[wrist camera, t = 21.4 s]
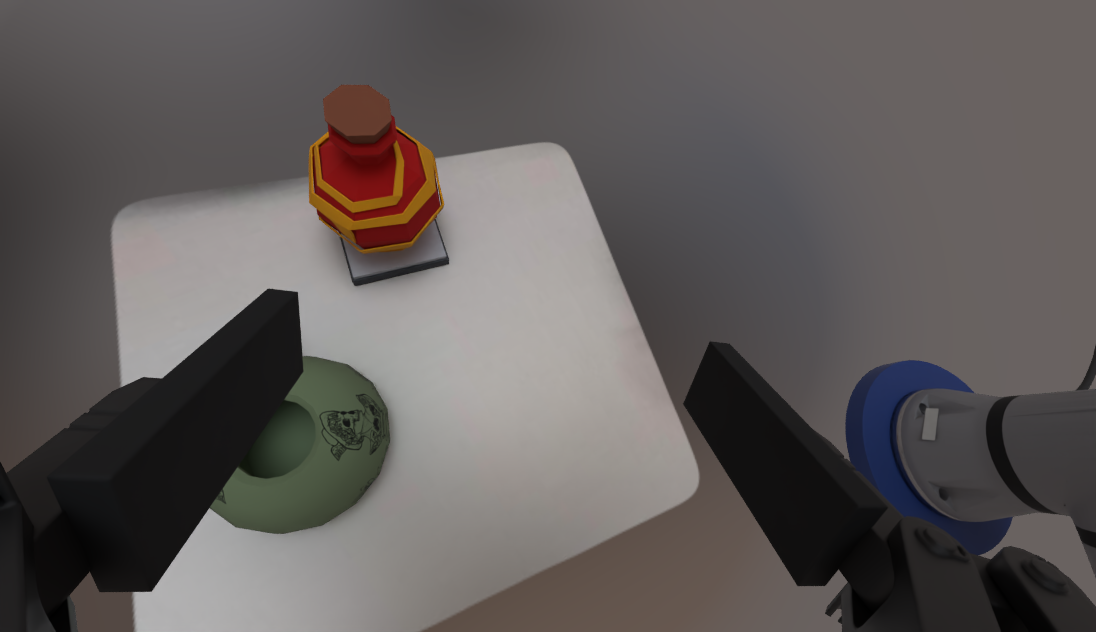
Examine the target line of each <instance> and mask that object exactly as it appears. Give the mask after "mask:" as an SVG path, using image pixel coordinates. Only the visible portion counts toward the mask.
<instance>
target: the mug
mask: <svg viewBox="0 0 1096 632" xmlns="http://www.w3.org/2000/svg"><path fill="white" fill-rule="evenodd" d="M303 370H304V372H303V373H302V374H301V376H300V377H299V379H298V380H297V382H296V383H295V385H294V386H293V388H292V389H291V390H290V392H289V393H288V395H287V396H286V398H285V399H284V401H283V402H282V403H281V405H280V406H279V408H278V409H277V411H276V412H275V414H274V415H273V417H272V418H271V419H270V421H269V422H268V424H267V425H266V427H265V428H264V430H263V431H262V432H261V434H260V435H259V437H258V438H257V440H256V441H255V443H254V444H253V445H252V447H251V448H250V450H249V451H248V453H247V454H246V456H245V457H244V459H243V460H242V461H241V463H240V464H239V466H238V467H237V469H236V470H235V472H234V473H233V474H232V476H231V477H230V479H229V480H228V482H227V483H226V485H225V486H224V488H223V489H222V490H221V492H220V493H219V495H218V496H217V498H216V499H215V501H214V502H213V503H212V505H211V506H210V509H212V510H213V511H214V512H216V513H217V514H218V515H220V516H221V517H222V518H224V519H225V520H227V521H228V522H229V523H231V524H232V525H233V526H235V527H238V528H244V529H250V530H255V531H261V532H267V533H273V534H285V533H289V532H294V531H299V530H303V529H308V528H312V527H317V526H321V525H324V524H325V523H327V522H328V521H330V520H331V519H333V518H334V517H336V516H338V515H339V514H341V513H342V512H344V511H345V510H347V509H349V508H350V507H352V506H353V505H355V504H356V503H357V502H358V500H359V499H360V498H361V497H362V495H363V494H364V493H365V492H366V490H367V489H368V488H369V486H370V485H371V484H372V483H373V481H374V480H375V479H376V478H377V476H378V475H379V473H380V470H381V467H382V464H383V461H384V458H385V455H386V451H387V448H388V445H389V442H390V437H389V424H388V411H387V408H386V406H385V404H384V402H383V401H382V399H381V397H380V395H379V393H378V392H377V390H376V388H375V386H374V385H373V383H372V382H371V381H369V380H368V379H367V378H365V377H364V376H363V375H361V374H360V373H359V372H357V371H356V370H355V369H353V368H352V367H350V366H349V365H347V364H343V363H339V362H335V361H330V360H326V359H322V358H318V357H310V356H304V357H303Z"/></svg>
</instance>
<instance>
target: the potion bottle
mask: <svg viewBox="0 0 1096 632" xmlns="http://www.w3.org/2000/svg"><path fill="white" fill-rule="evenodd" d="M323 104H324V115H325V121H326V122H327V123H328V132H327V133H326V134H325V135H324V136H322V137H321V138H320V139H319V140H318V141H317V142H315V143H314V144H313V145H312V146H310V152H309V203H310V204H311V205H313V206H314V207H315V208H316V209H317V214H318V215H319V220H321V221H322V222H323V223H324V224H325V225H327V226H328V227H329V228H330V229H332V230H333V231H334V232H335V233H337V234H338V235H339V236H340V237H342V238H343V239H344V240H346V241H347V242H348V243H349V244H351V245H352V246H353V247H354V248H356V249H357V250H358V251H360V252H361V253H363V254H367V253H374V252H390V251H402V250H404V249H405V248H409V247H412V246H413V244H414V243H415V242H416V241H417V239H418V238H419V237H420V236H421V234H422V233H423V232H424V231H425V230H426V228H427V227H428V226H429V225H430V224H431V223H432V222H433V221H434V219H435V218H436V217H437V215H438V214H439V212H440V211H441V210H442V209H443V206H444V201H443V197H442V193H441V188H440V184H439V180H438V174H437V168H436V162H435V158H434V156H433V153H432V152H431V151H430V150H429V149H427V148H426V147H425V146H423V145H422V144H421V143H419V142H418V141H417V140H415V139H414V138H413V137H411V136H410V135H408V134H407V133H405V132H404V131H402V130H401V129H399V128H398V127H396V126H395V119H394V117H393V116H392V115H391V112H390V104H389V99H387V98H386V97H384V96H383V95H382V94H380V93H379V92H377V91H376V90H374V89H373V88H372V87H370V86H369V85H341V86H339V87H338V88H337V89H335V90H334V91H333V92H332V93H330V94H329V95H328V96H326V97H325V98H324V99H323ZM435 174H436V176H435ZM313 178H314V187H313ZM436 178H437V183H438V189H439V195H440V201H439V195H438V189H437V183H436ZM314 191H315V193H314ZM440 202H441V206H440ZM332 227H333V228H334V229H336V230H337V231H338V232H340V233H341V234H343V235H344V236H346V237H347V238H349V239H350V240H351V241H352V242H354V243H356V244H357V245H359V246H360V247H361V248H363V249H364V250H360V249H359V248H358V247H356V246H355V245H354V244H352V243H351V242H350V241H349V240H347V239H346V238H345V237H343V236H342V235H341V234H339V233H338V232H337V231H336V230H334V229H333V228H332Z"/></svg>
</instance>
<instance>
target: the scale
mask: <svg viewBox="0 0 1096 632" xmlns="http://www.w3.org/2000/svg"><path fill="white" fill-rule="evenodd" d="M339 234H341V233H340V232H339ZM341 235H342V236H343V237H345V238H346V239H347V240H349V241H350V242H351V243H352V244H354V245H355V246H356V247H358V248H359V249H360V250H364V249H363V248H361V247H360V246H359V245H357V244H356V243H354V242H352V241H351V240H350V239H349V238H347V237H346V236H344V235H343V234H341ZM340 238H341V242H342V246H343V249H344V253H345V256H346V260H347V264H348V267H349V271H350V274H351V278H352V282H353V283H354V285H355V286H358V285H362V284H366V283H370V282H374V281H379V280H383V279H387V278H391V277H395V276H400V275H404V274H408V273H412V272H416V271H421V270H425V269H429V268H433V267H437V266H441V265H446V264H449V258H448V255H447V252H446V249H445V246H444V243H443V240H442V237H441V234H440V231H439V228H438V225H437V222H436V219H434V221H433V222H432V223H431V224H430V225H429V226H428V227H427V228H426V230H425V231H424V232H423V233H422V234H421V236H420V237H419V238H418V239H417V241H416V242H415V243H414V244H413V246H412V247H409V248H405V249H404V250H402V251H390V252H374V253H367V254H363V253H361V252H360V251H358V250H357V249H356V248H354V247H353V246H352V245H351V244H349V243H348V242H347V241H346V240H344V239H343V238H342V237H340Z"/></svg>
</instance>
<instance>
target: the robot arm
mask: <svg viewBox="0 0 1096 632" xmlns="http://www.w3.org/2000/svg"><path fill="white" fill-rule="evenodd" d="M303 372H304V370H303V357H302V343H301V330H300V316H299V302H298V292H292V291H284V290H275V289H267V290H266V291H265V292H264V293H262V294H261V295H260V296H259V297H258V298H257V299H255V300H254V301H253V302H252V303H251V304H249V305H248V306H247V307H246V308H245V309H244V310H242V311H241V312H240V313H239V314H238V315H236V316H235V317H234V318H233V319H232V320H231V321H229V322H228V323H227V324H226V325H225V326H224V327H222V328H221V329H220V330H219V331H218V332H216V333H215V334H214V335H213V336H212V337H211V338H209V339H208V340H207V341H206V342H205V343H203V344H202V345H201V346H200V347H199V348H198V349H196V350H195V351H194V352H193V353H192V354H191V355H189V356H188V357H187V358H186V359H185V360H183V361H182V362H181V363H180V364H179V365H178V366H176V367H175V368H174V369H173V370H172V371H170V372H169V373H168V374H167V375H166V376H165V377H163V378H162V379H160V378H147V377H143V378H140V379H138V380H136V381H134V382H132V383H130V384H127V385H125V386H123V387H121V388H119V389H117V390H114V391H112V392H111V393H110V394H108V395H107V396H106V397H105V398H103V399H102V400H101V401H99V402H98V403H97V404H96V405H94V406H93V407H92V408H90V411H89V412H88V413H84V414H83V415H81V416H80V417H79V418H77V419H76V420H75V421H74V422H72V423H71V424H70V427H69V428H68V429H67V428H64V429H63V430H62V431H61V432H60V433H58V434H57V435H55V436H54V437H53V438H51V439H50V440H49V441H48V442H46V443H45V444H44V445H43V446H41V447H40V448H38V449H37V450H36V451H35V452H33V453H32V454H31V455H29V456H28V457H27V458H25V459H24V460H23V461H22V462H20V463H19V464H18V465H16V466H15V467H14V468H13V469H11V470H10V471H9V472H7V473H6V472H5V470H4V468H3V466H2V464H1V462H0V632H78V629H77V621H76V613H75V606H74V603H73V602H72V600H71V598H70V596H69V595H70V594H71V593H72V592H73V590H74V589H75V588H76V587H77V586H78V585H79V583H80V582H81V581H82V580H83V579H84V578H85V576H86V575H87V574H88V573H89V572H90V573H91V575H92V577H93V579H94V581H95V583H96V586H97V588H98V589H99V592H152V590H153V589H154V587H155V586H156V585H157V583H158V582H159V580H160V579H161V577H162V576H163V574H164V573H165V572H166V570H167V569H168V567H169V566H170V564H171V563H172V561H173V560H174V558H175V557H176V556H177V554H178V553H179V551H180V550H181V548H182V547H183V545H184V544H185V543H186V541H187V540H188V538H189V537H190V535H191V534H192V532H193V531H194V530H195V528H196V527H197V525H198V524H199V522H200V521H201V519H202V518H203V516H204V515H205V514H206V512H207V511H208V509H209V508H210V506H211V505H212V503H213V502H214V501H215V499H216V498H217V496H218V495H219V493H220V492H221V490H222V489H223V488H224V486H225V485H226V483H227V482H228V480H229V479H230V477H231V476H232V474H233V473H234V472H235V470H236V469H237V467H238V466H239V464H240V463H241V461H242V460H243V459H244V457H245V456H246V454H247V453H248V451H249V450H250V448H251V447H252V445H253V444H254V443H255V441H256V440H257V438H258V437H259V435H260V434H261V432H262V431H263V430H264V428H265V427H266V425H267V424H268V422H269V421H270V419H271V418H272V417H273V415H274V414H275V412H276V411H277V409H278V408H279V406H280V405H281V403H282V402H283V401H284V399H285V398H286V396H287V395H288V393H289V392H290V390H291V389H292V388H293V386H294V385H295V383H296V382H297V380H298V379H299V377H300V376H301V374H302V373H303ZM1095 375H1096V346H1095V350H1094V355H1093V358H1092V361H1091V364H1090V366H1089V369H1088V371H1087V373H1086V376H1085V378H1084V380H1083V382H1082V384H1081V385H1080V386H1079V387H1078V389H1077V390H1075V391H1067V392H1054V393H1042V394H1030V395H1020V396H1009V397H995V396H989V395H983V394H976V393H970V392H963V391H956V390H950V389H934V388H932V389H923V390H916V391H913V392H910V393H908V394H906V395H905V396H904V397H903V398H902V399H901V400H900V401H899V402H898V403H897V405H896V407H895V409H894V411H893V414H892V418H891V423H890V442H891V448H892V453H893V456H894V460H895V463H896V465H897V468H898V470H899V472H900V474H901V476H902V478H903V480H904V482H905V483H906V485H907V486H908V488H909V489H910V490H911V492H912V493H913V494H914V495H915V497H916V498H917V499H918V500H919V501H920V502H921V503H922V504H923V505H924V506H926V507H927V508H928V509H930V510H931V511H932V512H934V513H936V514H938V515H940V516H942V517H944V518H947V519H952V520H958V521H966V522H984V521H990V520H996V519H1002V518H1008V517H1014V516H1019V515H1025V514H1031V513H1037V512H1040V513H1050V514H1060V515H1066V516H1071V518H1072V519H1073V522H1074V524H1075V526H1076V529H1077V531H1078V534H1079V536H1080V539H1081V541H1082V544H1083V546H1084V549H1085V551H1086V554H1087V556H1088V559H1089V561H1090V563H1091V567H1092V569H1093V572H1094V574H1095V577H1096V389H1089V387H1090V385H1091V384H1092V381H1093V380H1094V377H1095ZM1088 389H1089V390H1088ZM683 404H684V406H685V408H686V409H687V411H688V412H689V414H690V415H691V417H692V419H693V420H694V422H695V423H696V425H697V427H698V428H699V430H700V431H701V433H702V435H703V436H704V438H705V439H706V441H707V443H708V444H709V446H710V447H711V449H712V450H713V452H714V454H715V455H716V457H717V458H718V460H719V462H720V463H721V465H722V466H723V468H724V469H725V471H726V473H727V474H728V476H729V478H730V479H731V481H732V482H733V484H734V485H735V487H736V489H737V490H738V492H739V493H740V495H741V497H742V498H743V500H744V501H745V503H746V505H747V506H748V508H749V509H750V511H751V513H752V514H753V516H754V517H755V519H756V521H757V522H758V524H759V525H760V527H761V528H762V530H763V532H764V533H765V535H766V536H767V538H768V539H769V541H770V543H771V544H772V546H773V548H774V549H775V551H776V552H777V554H778V555H779V557H780V559H781V560H782V562H783V563H784V565H785V567H786V568H787V570H788V571H789V573H790V574H791V576H792V578H793V579H794V581H795V582H796V584H797V586H825V585H826V584H827V583H828V582H829V580H830V579H831V578H832V576H833V575H834V574H835V573H836V572H837V570H838V569H839V570H840V572H841V573H842V574H843V576H844V577H845V578H846V580H847V581H848V583H847V584H846V585H845V586H844V588H843V589H842V590H841V591H840V592H839V593H838V595H837V596H836V597H835V598H834V599H833V601H832V602H831V603H830V604H829V605H828V606H827V609H826V612H825V614H827V615H828V616H831V615H832V614H833V613H834V612H835V611H836V609H842V616H841V617H840V619H839V620H838V622H839V623H841V624H842V632H1096V606H1095V605H1094V604H1093V603H1092V602H1091V601H1090V599H1089V598H1088V597H1087V596H1086V595H1085V594H1084V592H1083V591H1082V590H1081V589H1080V588H1079V587H1078V586H1077V585H1076V584H1075V583H1074V582H1073V581H1072V580H1071V579H1070V578H1069V577H1067V576H1066V575H1065V574H1063V573H1062V572H1061V571H1060V570H1059V569H1058V568H1057V567H1056V566H1054V565H1053V564H1051V563H1050V562H1046V560H1045V559H1043V558H1041V557H1039V556H1037V555H1034V554H1032V553H1030V552H1028V551H1026V550H1023V549H1020V548H1016V547H1012V546H1009V547H1004V548H1003V549H1002V550H1000V552H998V553H997V554H996V555H995V556H994V557H993V558H992V559H987V558H984V557H981V556H978V555H975V554H971V553H969V552H968V551H967V550H966V549H965V548H964V547H963V546H962V545H961V544H960V543H959V542H958V541H957V540H956V539H955V538H953V537H952V536H951V535H949V534H948V533H947V532H946V531H944V530H943V529H941V528H939V527H937V526H936V525H934V524H932V523H931V522H928V521H926V520H923V519H921V518H918V517H911V516H906V517H904V516H903V515H902V514H901V513H900V512H899V511H898V510H897V509H896V508H895V507H894V506H893V505H892V504H891V503H890V502H889V501H888V500H887V499H886V498H885V497H884V496H883V495H882V494H881V493H880V492H879V491H878V490H877V489H876V488H875V487H874V486H873V485H872V484H871V483H870V482H869V481H868V480H867V479H866V478H865V477H864V476H863V475H862V474H861V473H860V472H859V471H856V468H855V467H854V466H853V464H852V463H851V462H850V461H848V460H847V459H844V456H843V455H842V453H841V452H840V451H839V450H838V449H837V448H836V447H835V446H834V445H832V443H831V442H830V441H828V440H827V439H826V438H824V437H823V436H821V435H820V434H819V433H817V432H816V431H814V430H813V429H812V428H811V427H810V426H809V425H808V424H807V423H806V422H805V421H804V420H803V419H802V418H801V417H800V416H799V415H798V414H797V413H796V412H795V411H794V410H793V409H792V408H791V407H790V406H789V405H788V403H787V402H786V401H785V400H784V399H783V398H781V396H780V395H779V394H778V393H777V392H776V391H775V390H774V389H773V388H772V387H771V386H770V385H769V384H768V383H767V382H766V381H765V380H764V379H763V378H762V377H761V376H760V375H759V374H758V373H757V372H756V371H755V370H754V369H753V368H752V367H751V366H750V364H749V363H748V362H747V361H746V360H745V359H744V358H743V357H741V355H740V354H739V353H738V352H737V351H736V350H735V349H734V348H733V347H732V346H731V345H730V344H727V343H718V342H709V345H708V347H707V350H706V352H705V354H704V357H703V359H702V361H701V363H700V366H699V368H698V370H697V373H696V375H695V378H694V380H693V382H692V385H691V387H690V389H689V392H688V394H687V396H686V399H685V401H684V403H683Z"/></svg>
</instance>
